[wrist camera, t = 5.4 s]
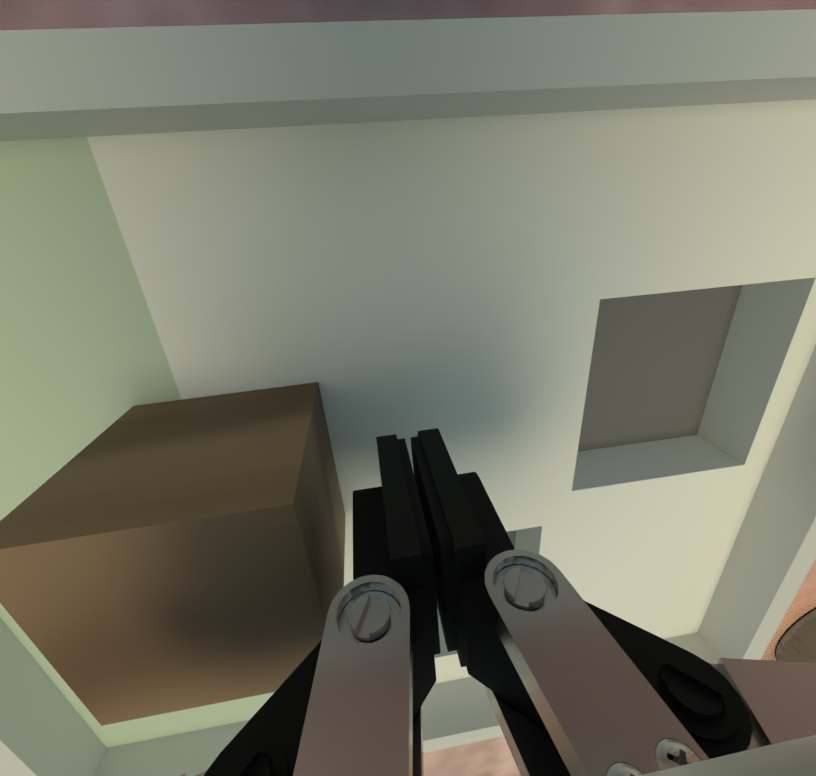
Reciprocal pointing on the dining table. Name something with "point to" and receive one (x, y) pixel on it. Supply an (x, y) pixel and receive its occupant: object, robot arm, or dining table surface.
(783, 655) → the thermos bottle
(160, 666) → the walnut block
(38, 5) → the dining table surface
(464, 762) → the dining table surface
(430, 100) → the board
